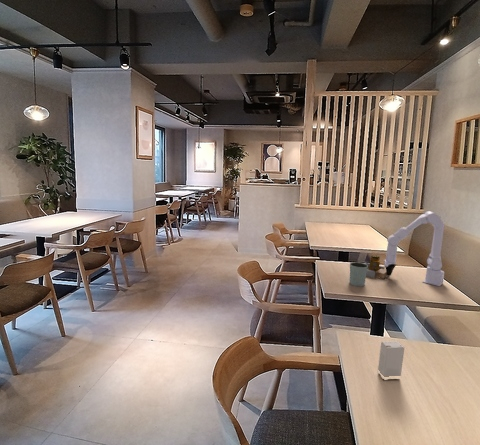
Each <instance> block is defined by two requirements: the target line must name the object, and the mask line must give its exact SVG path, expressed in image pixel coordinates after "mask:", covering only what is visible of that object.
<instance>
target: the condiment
mask: <svg viewBox="0 0 480 445" xmlns="http://www.w3.org/2000/svg"><path fill="white" fill-rule="evenodd" d="M380 258H381V257H380V256H379V255H376V254H372V255H370V259H369V263H370V264H369V269H368V270H371V271H375V274H376V271H378V270H379V266H380V264H381V261H380Z"/></svg>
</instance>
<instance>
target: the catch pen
mask: <svg viewBox="0 0 480 445" xmlns="http://www.w3.org/2000/svg"><path fill="white" fill-rule="evenodd" d="M363 263H364V264H367V265H368V269H367V274H366V277H368V278H373V279H375V278H376V277H375V271H371V270H369V264H370V262H363ZM380 269H386V268H385V266H384V265H383V266H382V265H379V270H380Z"/></svg>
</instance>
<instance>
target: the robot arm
mask: <svg viewBox="0 0 480 445" xmlns="http://www.w3.org/2000/svg"><path fill="white" fill-rule="evenodd" d="M428 223H429V224H430V225H431V226H432V227H433V234H432V242H431V249H430V252H429V255H428V257H427V259H426V263H427V266H426V270H425V271H426V272H425V279H424V280H423V281H422V283H426V284H429V285H433V286H437V287H441V286H442V285H443V284H444V280H445V271H444V270H442V268H443V262H442V256H441V252H442V247H443V246H442V245H443V240H444V239H443V238H444V232H445V223H444V222H443V220H442V218H441V216H440V215H439V214H437V213H435V212H433V211H431V210H428V211H427V210H426V211H425V212H424V213H422V214H420V215H419V216H418V217H417V218H416V219H415V220H413V221H412V222H411V223H409V224H408V225H407V226H406V227H405V226H402V227H400V228H399V229H398V230H397V231H396V232H395V233H394V232H393V233H392V234H391V235H389V236H388V237H387V239H386V240H387V247H386V253H385V254H386V255H385V259H383V262H384V264H383V267H385V269H386V273H387V275H388V276H387V277H391V276H392V274H393V270H394V269H395V267H396V263H397V253H398V245H399V244H400V242H401V241H403V240H404V239H405V238H406V237H408V236H409V235H410V233H411V232H412V231H413V230H414V229H416V228H417V227H419V226H420V225H426V224H427V225H428Z"/></svg>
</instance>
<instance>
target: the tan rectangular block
mask: <svg viewBox="0 0 480 445" xmlns="http://www.w3.org/2000/svg"><path fill="white" fill-rule="evenodd" d="M387 277H389V276H388V275H387V273H386V268H385V269H380V270H378V271H376V274H375V278H378V279H381V280H383V279H385V278H387Z"/></svg>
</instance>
